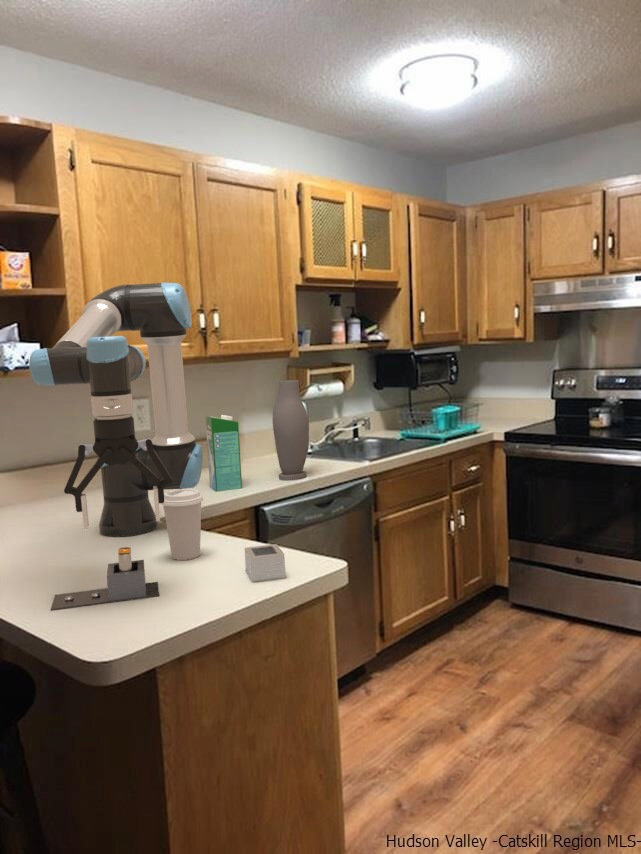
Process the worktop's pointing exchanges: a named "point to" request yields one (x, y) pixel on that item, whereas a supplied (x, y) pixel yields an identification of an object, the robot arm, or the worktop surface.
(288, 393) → the vase
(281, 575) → the link
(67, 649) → the worktop surface
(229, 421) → the milk carton
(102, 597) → the keeper
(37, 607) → the worktop surface
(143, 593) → the grey hollow block
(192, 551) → the coffee cup
